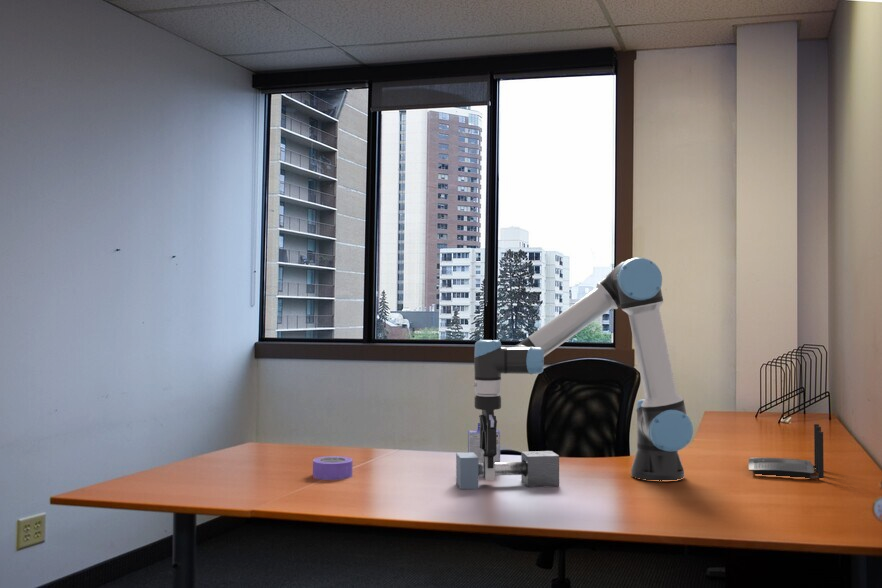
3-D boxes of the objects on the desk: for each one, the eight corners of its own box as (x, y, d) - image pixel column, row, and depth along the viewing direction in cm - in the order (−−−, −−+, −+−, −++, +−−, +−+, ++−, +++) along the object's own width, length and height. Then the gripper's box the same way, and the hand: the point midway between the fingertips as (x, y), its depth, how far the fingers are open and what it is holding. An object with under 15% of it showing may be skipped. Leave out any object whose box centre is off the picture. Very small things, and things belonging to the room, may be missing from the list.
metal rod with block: (524, 473, 236) (524, 447, 236) (528, 477, 231) (528, 450, 231) (463, 475, 234) (463, 448, 234) (466, 478, 229) (466, 451, 229)
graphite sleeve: (551, 480, 239) (551, 450, 239) (559, 486, 231) (559, 455, 231) (521, 481, 237) (521, 451, 238) (527, 487, 229) (527, 456, 230)
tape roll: (360, 476, 246) (360, 459, 246) (330, 482, 237) (330, 464, 237) (335, 470, 254) (335, 454, 254) (304, 476, 245) (304, 459, 245)
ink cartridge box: (499, 469, 255) (499, 422, 255) (500, 472, 249) (500, 425, 250) (467, 469, 255) (467, 422, 255) (468, 472, 249) (468, 425, 250)
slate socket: (473, 482, 236) (473, 452, 236) (478, 488, 228) (478, 457, 228) (456, 483, 235) (456, 452, 235) (460, 489, 227) (460, 457, 227)
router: (749, 465, 262) (748, 418, 263) (818, 469, 255) (818, 422, 255) (748, 478, 243) (748, 427, 243) (824, 483, 236) (823, 431, 236)
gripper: (469, 391, 241) (469, 471, 240) (480, 398, 223) (480, 484, 223) (494, 391, 242) (495, 470, 241) (507, 398, 224) (507, 483, 224)
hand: (488, 477), depth 232 cm, fingers closed on metal rod with block, 5 cm apart
